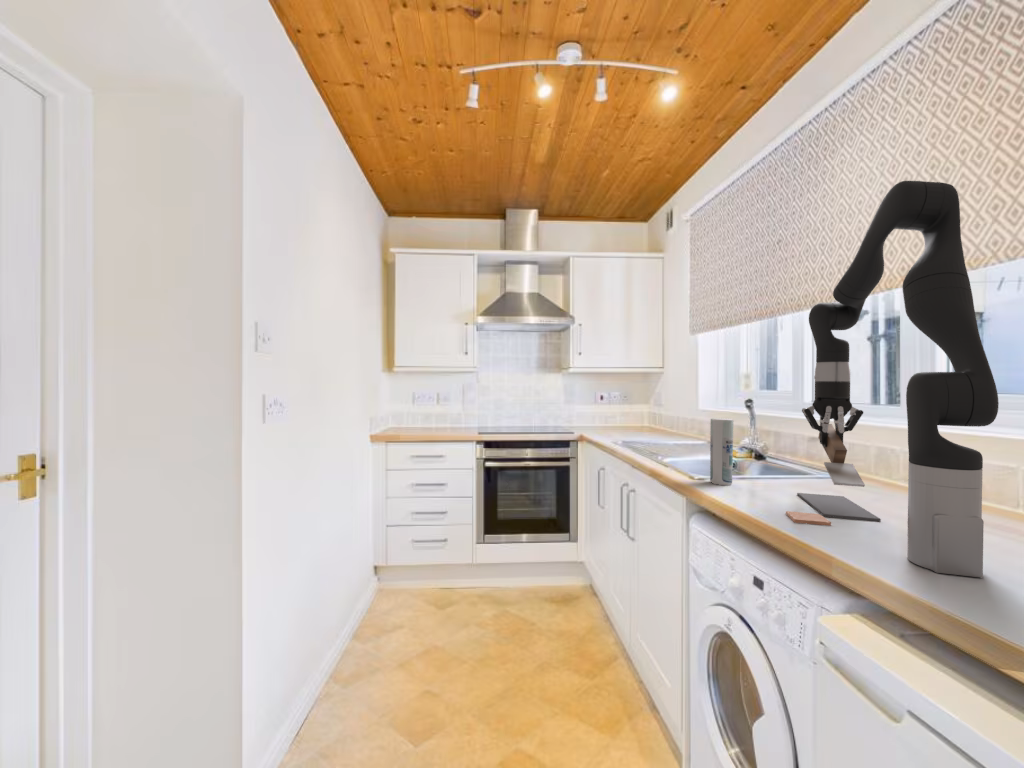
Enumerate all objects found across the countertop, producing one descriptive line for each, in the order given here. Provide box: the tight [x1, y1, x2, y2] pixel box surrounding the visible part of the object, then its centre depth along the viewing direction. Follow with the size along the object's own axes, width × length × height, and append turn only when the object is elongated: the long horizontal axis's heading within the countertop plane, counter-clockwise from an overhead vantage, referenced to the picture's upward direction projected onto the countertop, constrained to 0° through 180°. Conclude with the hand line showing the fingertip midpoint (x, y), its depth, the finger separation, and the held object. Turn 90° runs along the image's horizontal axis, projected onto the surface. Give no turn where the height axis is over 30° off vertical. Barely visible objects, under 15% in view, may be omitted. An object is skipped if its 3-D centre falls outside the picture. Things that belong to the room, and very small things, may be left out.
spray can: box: [709, 417, 734, 486], centre depth 142 cm, size 6×6×20 cm
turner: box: [818, 423, 866, 488], centre depth 114 cm, size 20×6×4 cm, turn 162°
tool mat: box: [797, 492, 882, 522], centre depth 116 cm, size 22×11×1 cm, turn 162°
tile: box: [785, 510, 832, 526], centre depth 105 cm, size 1×7×7 cm
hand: (831, 446), depth 118 cm, fingers closed on turner, 2 cm apart
